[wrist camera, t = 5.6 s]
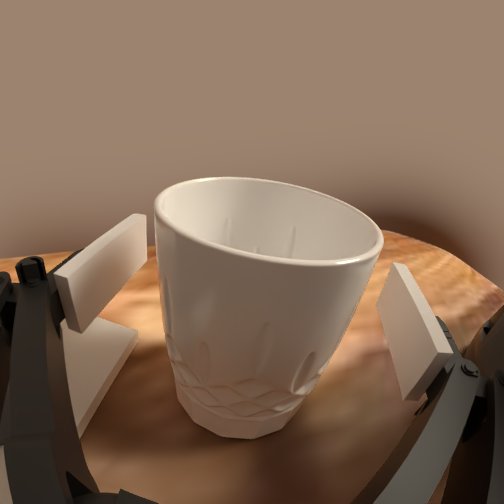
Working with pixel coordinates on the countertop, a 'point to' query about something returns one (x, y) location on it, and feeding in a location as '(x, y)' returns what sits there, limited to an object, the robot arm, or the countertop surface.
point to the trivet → (81, 376)
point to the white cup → (256, 294)
